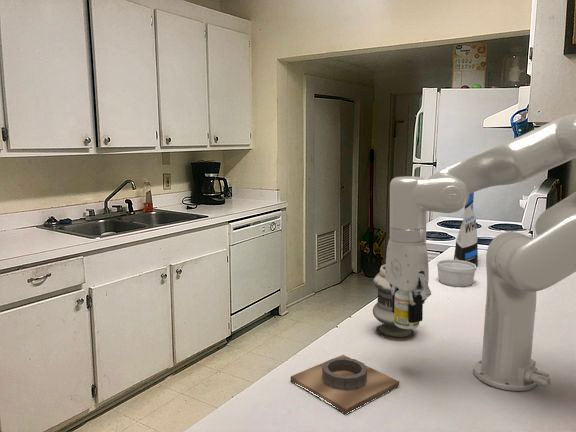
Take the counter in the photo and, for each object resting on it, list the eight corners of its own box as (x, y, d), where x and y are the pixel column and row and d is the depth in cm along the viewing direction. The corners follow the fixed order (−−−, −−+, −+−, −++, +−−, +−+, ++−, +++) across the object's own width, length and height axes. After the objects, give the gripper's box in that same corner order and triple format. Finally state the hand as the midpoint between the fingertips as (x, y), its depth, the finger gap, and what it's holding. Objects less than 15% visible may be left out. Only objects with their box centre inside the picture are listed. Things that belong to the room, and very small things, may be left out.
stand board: (399, 386, 98) (399, 370, 98) (345, 414, 88) (346, 396, 87) (343, 359, 110) (343, 344, 110) (290, 381, 100) (290, 365, 100)
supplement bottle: (398, 330, 100) (399, 286, 99) (390, 321, 106) (391, 279, 104) (423, 328, 101) (424, 285, 99) (414, 319, 106) (414, 278, 105)
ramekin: (483, 286, 166) (484, 266, 165) (453, 290, 161) (454, 270, 160) (457, 276, 178) (458, 258, 177) (428, 279, 174) (429, 261, 172)
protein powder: (448, 270, 186) (452, 194, 181) (458, 256, 207) (462, 188, 202) (473, 273, 181) (479, 195, 177) (481, 259, 203) (486, 189, 198)
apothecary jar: (362, 331, 126) (364, 266, 124) (390, 320, 134) (393, 258, 131) (399, 346, 117) (402, 276, 114) (427, 333, 125) (431, 267, 122)
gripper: (371, 230, 107) (372, 306, 110) (416, 244, 91) (415, 334, 94) (400, 227, 109) (399, 302, 112) (448, 240, 93) (446, 328, 96)
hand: (407, 315), depth 103 cm, fingers closed on supplement bottle, 5 cm apart
